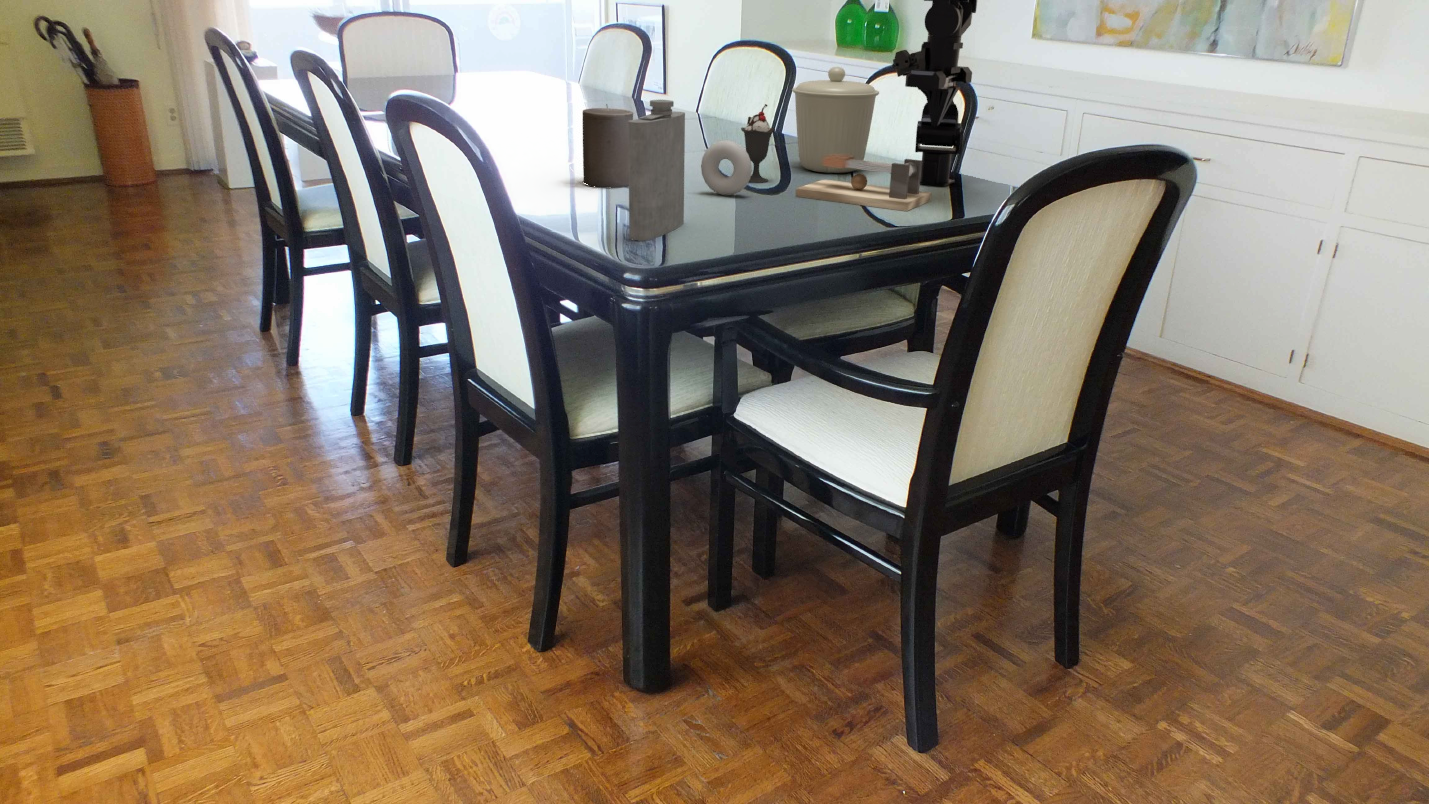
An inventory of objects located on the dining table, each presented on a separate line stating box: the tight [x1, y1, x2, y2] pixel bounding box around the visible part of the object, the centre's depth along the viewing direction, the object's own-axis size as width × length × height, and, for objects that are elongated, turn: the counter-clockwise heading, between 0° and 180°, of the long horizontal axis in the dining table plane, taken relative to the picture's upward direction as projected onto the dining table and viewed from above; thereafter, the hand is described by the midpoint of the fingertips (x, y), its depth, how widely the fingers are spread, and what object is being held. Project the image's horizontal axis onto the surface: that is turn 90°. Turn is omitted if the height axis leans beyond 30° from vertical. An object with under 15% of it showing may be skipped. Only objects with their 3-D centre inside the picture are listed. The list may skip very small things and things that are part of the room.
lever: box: [822, 154, 917, 177], centre depth 190 cm, size 5×17×2 cm, turn 59°
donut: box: [700, 139, 753, 196], centre depth 191 cm, size 10×4×10 cm, turn 65°
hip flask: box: [628, 99, 686, 242], centre depth 160 cm, size 16×4×20 cm, turn 158°
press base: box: [795, 158, 932, 212], centre depth 191 cm, size 12×22×8 cm, turn 59°
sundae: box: [740, 103, 776, 184], centre depth 205 cm, size 7×7×15 cm
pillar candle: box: [582, 103, 634, 189], centre depth 198 cm, size 10×10×15 cm
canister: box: [791, 66, 880, 174], centre depth 218 cm, size 18×18×21 cm
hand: (935, 125), depth 191 cm, fingers closed
